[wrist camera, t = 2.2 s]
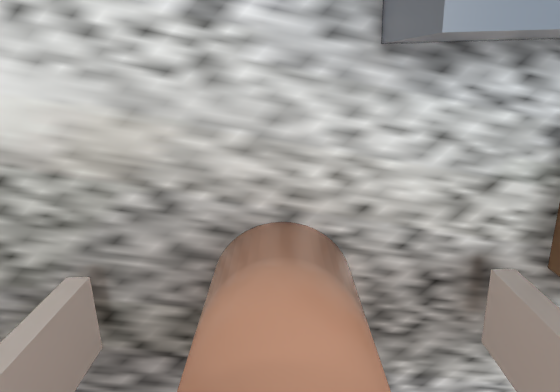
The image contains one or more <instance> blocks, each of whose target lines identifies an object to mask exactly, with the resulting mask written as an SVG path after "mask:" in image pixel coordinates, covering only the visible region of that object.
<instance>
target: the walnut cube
mask: <svg viewBox="0 0 560 392" xmlns="http://www.w3.org/2000/svg"><path fill="white" fill-rule="evenodd" d="M548 268H549V269H550V270H552V271H553V272H554V273H556V274H557V275H558V276H559V277H560V204H559V209H558V215H557V220H556V226H555V231H554V236H553V242H552V247H551V253H550V258H549V264H548Z"/></svg>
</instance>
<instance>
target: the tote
mask: <svg viewBox="0 0 560 392" xmlns="http://www.w3.org/2000/svg"><path fill="white" fill-rule="evenodd" d="M525 39H560V0H383V18H382V41H381V44H384V43H420V42H455V41H490V40H525Z"/></svg>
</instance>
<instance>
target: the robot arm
mask: <svg viewBox="0 0 560 392" xmlns="http://www.w3.org/2000/svg"><path fill="white" fill-rule="evenodd" d="M481 342H482V343H483V345H484V346H485V347H486V349H487V350H488V352H489V353H490V354H491V356H492V357H493V359H494V360H495V362H496V363H497V364H498V366H499V367H500V369H501V370H502V371H503V373H504V374H505V376H506V377H507V379H508V380H509V381H510V383H511V384H512V386H513V387H514V388H515V390H516V391H517V392H560V308H559V307H557V306H556V305H555V304H554V303H553V302H552V301H551V300H550V299H548V298H547V297H546V296H545V295H544V294H543V293H542V292H541V291H540V290H538V289H537V288H536V287H535V286H534V285H533V284H532V283H531V282H529V281H528V280H527V279H526V278H525V277H524V276H523V275H522V274H520V273H519V272H518V271H517V270H516V269H491V275H490V283H489V290H488V297H487V304H486V311H485V319H484V326H483V333H482V340H481ZM102 348H103V347H102V342H101V336H100V331H99V325H98V320H97V314H96V309H95V303H94V298H93V292H92V287H91V281H90V277H66V278H65V279H64V280H63V281H62V282H61V283H60V284H59V285H58V286H57V287H56V288H55V289H54V290H53V291H52V292H51V293H50V294H49V295H48V296H47V297H46V298H45V299H44V300H43V301H42V302H41V303H40V304H39V305H38V306H37V307H36V308H35V309H34V310H33V311H32V312H31V313H30V314H29V315H28V316H27V317H26V318H25V319H24V320H23V321H22V322H21V323H20V324H19V325H18V326H17V327H16V328H15V329H14V330H13V331H12V332H11V333H10V334H9V335H8V336H7V337H6V338H5V339H4V340H2V341H1V342H0V392H74V391H75V390H76V388H77V387H78V385H79V384H80V382H81V380H82V379H83V377H84V376H85V374H86V373H87V371H88V370H89V368H90V366H91V365H92V363H93V362H94V360H95V359H96V357H97V355H98V354H99V352H100V351H101V349H102Z"/></svg>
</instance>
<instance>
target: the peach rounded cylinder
mask: <svg viewBox="0 0 560 392" xmlns="http://www.w3.org/2000/svg"><path fill="white" fill-rule="evenodd" d="M177 392H391V391H390V388H389V385H388V382H387V379H386V376H385V373H384V370H383V367H382V364H381V361H380V358H379V355H378V352H377V349H376V346H375V343H374V341H373V338H372V335H371V332H370V329H369V326H368V323H367V320H366V317H365V314H364V311H363V308H362V305H361V302H360V299H359V296H358V293H357V290H356V287H355V284H354V281H353V278H352V275H351V272H350V269H349V266H348V264H347V261H346V259H345V257H344V255H343V253H342V252H341V251H340V249H339V248H338V246H337V245H336V244H335V243H334V242H333V241H332V240H331V239H329V238H328V237H327V236H325V235H324V234H322V233H321V232H319V231H317V230H315V229H313V228H311V227H308V226H305V225H301V224H297V223H291V222H275V223H268V224H263V225H260V226H257V227H254V228H252V229H250V230H248V231H246V232H244V233H242V234H241V235H239V236H238V237H237V238H235V239H234V240H233V241H232V242H231V243H230V244H229V245H228V246H227V248H226V249H225V250H224V252H223V253H222V255H221V256H220V258H219V260H218V263H217V265H216V268H215V271H214V275H213V278H212V281H211V284H210V287H209V291H208V294H207V297H206V300H205V304H204V307H203V310H202V313H201V316H200V320H199V323H198V326H197V329H196V333H195V336H194V339H193V342H192V345H191V349H190V352H189V355H188V358H187V361H186V365H185V368H184V371H183V374H182V378H181V381H180V384H179V387H178V390H177Z"/></svg>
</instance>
